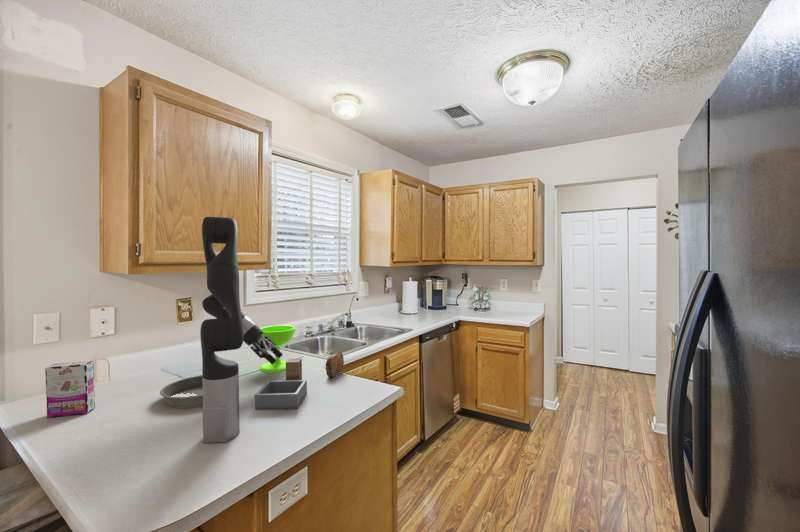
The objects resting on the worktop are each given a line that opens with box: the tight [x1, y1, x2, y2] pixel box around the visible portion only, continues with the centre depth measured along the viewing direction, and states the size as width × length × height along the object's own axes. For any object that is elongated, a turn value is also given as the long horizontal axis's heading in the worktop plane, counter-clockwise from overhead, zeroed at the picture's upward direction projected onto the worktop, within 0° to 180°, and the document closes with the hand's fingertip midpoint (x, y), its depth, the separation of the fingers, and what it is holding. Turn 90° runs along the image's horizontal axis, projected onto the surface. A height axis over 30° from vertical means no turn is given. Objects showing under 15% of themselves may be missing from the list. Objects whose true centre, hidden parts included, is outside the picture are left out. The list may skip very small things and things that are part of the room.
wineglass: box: [259, 325, 296, 374], centre depth 168 cm, size 16×16×18 cm
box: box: [254, 379, 308, 411], centre depth 128 cm, size 14×14×5 cm
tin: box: [325, 352, 345, 378], centre depth 158 cm, size 15×3×8 cm, turn 168°
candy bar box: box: [44, 360, 96, 419], centre depth 120 cm, size 11×5×16 cm, turn 105°
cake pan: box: [159, 374, 203, 408], centre depth 134 cm, size 25×25×4 cm
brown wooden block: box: [285, 358, 303, 381], centre depth 144 cm, size 5×5×10 cm
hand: (277, 359), depth 143 cm, fingers open, 8 cm apart
